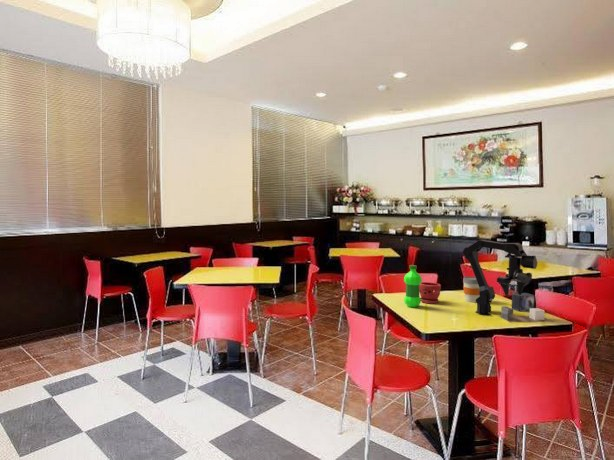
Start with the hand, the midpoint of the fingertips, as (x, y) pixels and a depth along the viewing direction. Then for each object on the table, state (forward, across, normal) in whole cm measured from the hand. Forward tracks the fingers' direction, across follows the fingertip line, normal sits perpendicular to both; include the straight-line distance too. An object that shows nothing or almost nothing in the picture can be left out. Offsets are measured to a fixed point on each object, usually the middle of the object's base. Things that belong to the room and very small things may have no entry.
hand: (513, 295), depth 219 cm
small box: (+14, +19, +11) cm, 26 cm away
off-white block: (+12, +10, -6) cm, 17 cm away
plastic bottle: (+14, -34, +43) cm, 56 cm away
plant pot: (+14, -17, +49) cm, 54 cm away
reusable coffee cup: (+14, +12, +42) cm, 46 cm away
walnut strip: (+13, +4, -5) cm, 15 cm away
